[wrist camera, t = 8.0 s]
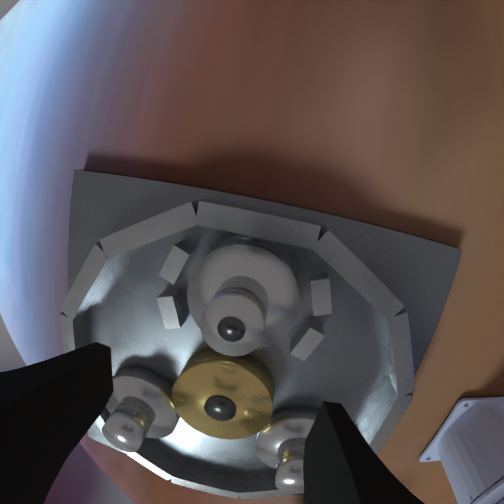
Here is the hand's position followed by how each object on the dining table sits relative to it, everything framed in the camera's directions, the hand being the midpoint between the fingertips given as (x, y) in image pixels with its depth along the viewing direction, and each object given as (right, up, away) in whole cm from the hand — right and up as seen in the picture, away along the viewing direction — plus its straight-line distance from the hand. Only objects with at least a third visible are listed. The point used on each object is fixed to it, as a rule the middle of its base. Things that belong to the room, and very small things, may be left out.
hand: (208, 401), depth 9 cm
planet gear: (+1, +3, +8) cm, 9 cm away
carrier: (0, -4, +11) cm, 12 cm away
